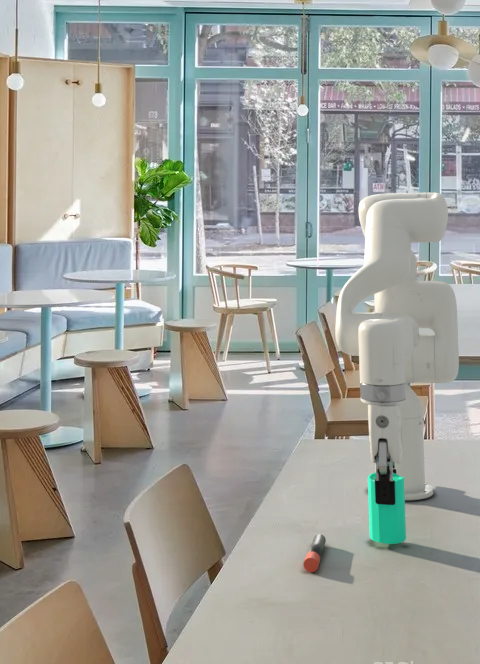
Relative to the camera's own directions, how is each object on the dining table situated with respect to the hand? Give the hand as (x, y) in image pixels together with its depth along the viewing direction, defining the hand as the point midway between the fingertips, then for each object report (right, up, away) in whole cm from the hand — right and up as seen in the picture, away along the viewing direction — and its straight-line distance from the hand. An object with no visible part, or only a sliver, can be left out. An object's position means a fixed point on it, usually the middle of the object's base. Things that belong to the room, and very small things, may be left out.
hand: (386, 496), depth 174 cm
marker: (-13, -8, -6) cm, 17 cm away
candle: (0, -7, 0) cm, 7 cm away
